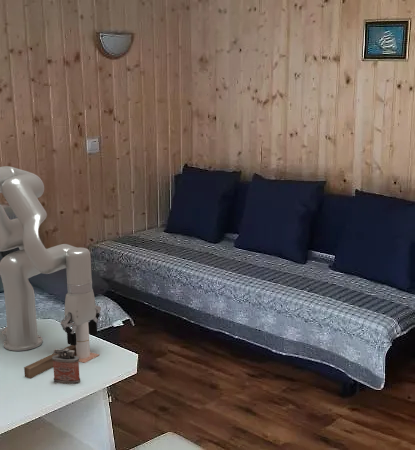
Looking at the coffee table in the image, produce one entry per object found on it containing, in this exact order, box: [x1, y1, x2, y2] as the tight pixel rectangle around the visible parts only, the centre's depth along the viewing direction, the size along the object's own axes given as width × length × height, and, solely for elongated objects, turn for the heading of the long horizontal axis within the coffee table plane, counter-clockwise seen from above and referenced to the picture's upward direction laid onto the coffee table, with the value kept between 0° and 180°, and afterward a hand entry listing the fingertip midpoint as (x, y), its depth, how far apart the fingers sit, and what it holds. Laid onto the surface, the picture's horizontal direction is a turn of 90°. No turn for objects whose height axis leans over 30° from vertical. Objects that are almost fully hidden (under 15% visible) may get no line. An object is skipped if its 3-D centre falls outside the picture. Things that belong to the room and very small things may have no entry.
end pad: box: [79, 351, 100, 364], centre depth 215 cm, size 6×7×1 cm
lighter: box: [52, 347, 81, 385], centre depth 197 cm, size 8×3×10 cm, turn 78°
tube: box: [74, 321, 91, 359], centre depth 214 cm, size 4×4×15 cm
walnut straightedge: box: [23, 344, 76, 379], centre depth 210 cm, size 2×24×3 cm, turn 148°
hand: (82, 339), depth 214 cm, fingers open, 9 cm apart
